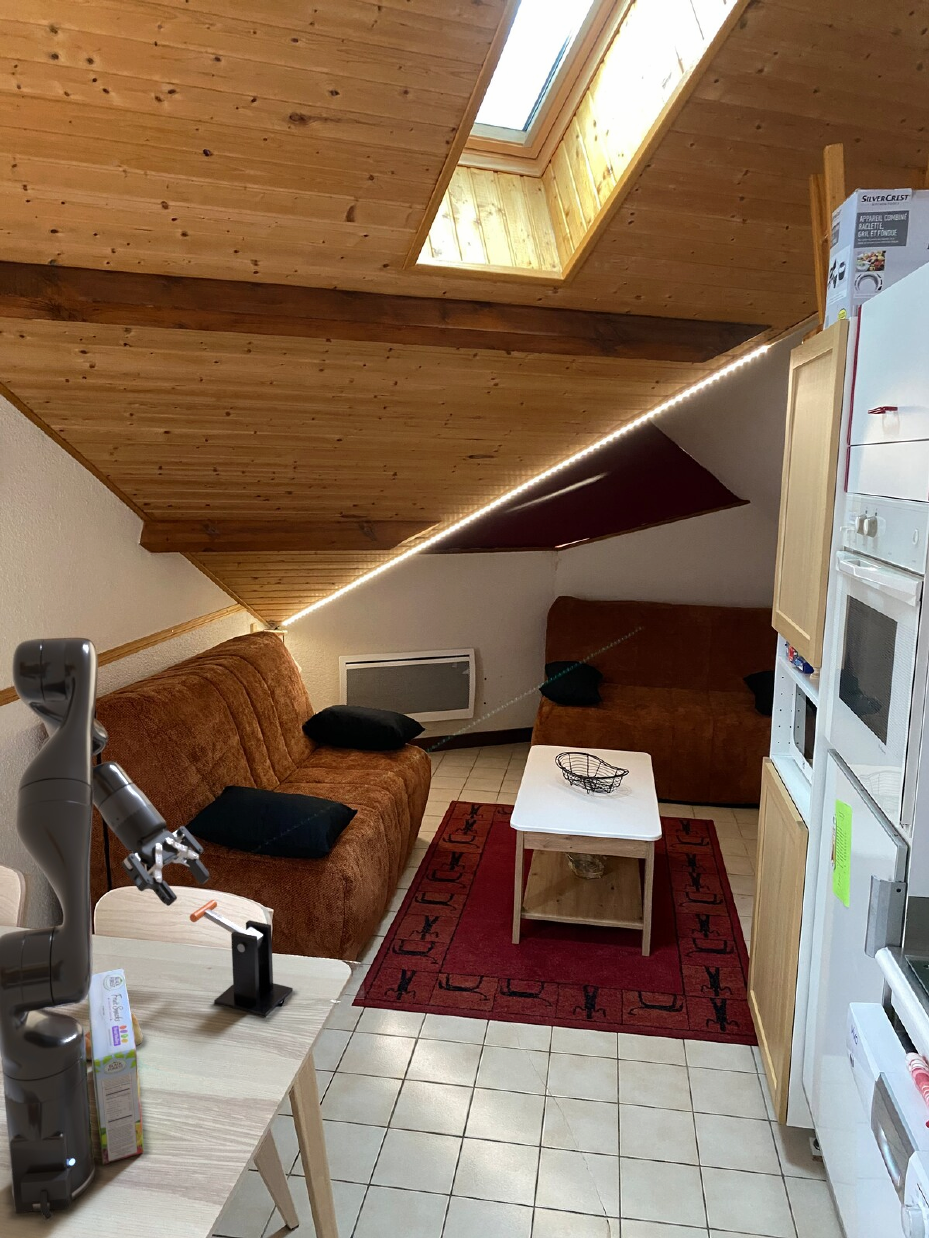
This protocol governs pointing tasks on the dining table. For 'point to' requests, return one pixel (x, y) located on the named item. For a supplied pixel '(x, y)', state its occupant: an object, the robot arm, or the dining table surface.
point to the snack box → (114, 1067)
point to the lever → (223, 921)
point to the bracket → (253, 974)
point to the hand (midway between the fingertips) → (190, 891)
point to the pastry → (137, 1037)
